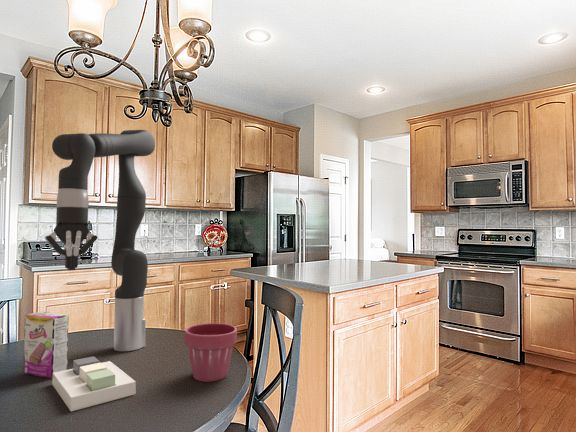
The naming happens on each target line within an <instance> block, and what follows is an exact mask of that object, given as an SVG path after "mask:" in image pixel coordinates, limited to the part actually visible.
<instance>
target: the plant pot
mask: <svg viewBox="0 0 576 432" xmlns="http://www.w3.org/2000/svg"><path fill="white" fill-rule="evenodd" d="M237 335H238V330H237V327H236V326H234V325H233V324H229V323H223V322H222V323H221V322H219V323H218V322H216V323H215V322H212V323H211V322H210V323H200V324H193V325H191V326H190V325H189V326H188V327H186V328H185V330H184V338H183V339H184V341H183V342H184V345H185V346H186V347H187V351H188V356H189V361H190V366H191V371H192V377H193V378H194V380H196V381H199V382H205V383H206V382H216V381H219V380H220V381H221V380H223V379H224V378H226V377H227V375H228V370H229V367H230V361H231V357H232V352H233V347H234V345H235V344H236V343H237V340H238V338H237V337H238V336H237Z"/></svg>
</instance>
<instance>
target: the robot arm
mask: <svg viewBox="0 0 576 432" xmlns="http://www.w3.org/2000/svg"><path fill="white" fill-rule="evenodd" d="M155 148H156V140H155V137H154V135H153V134H152V132H150V131H148V130H146V129H128V130H126V129H125V130H122V131H121V132H120V133H89V134H87V133H83V132H80V133H79V132H78V133H77V132H76V133H67V134H66V133H63V134H60V135H57V136H56V137H54V139H53V140H52V143H51V149H52V152H53V153H54V155H56V156H57V157H58V158H60V159H61V160H63V161H66V160H67V161H71V163H70V164H69V165H68V166H66V167H63V168H61V169H60V170H59V171H58V184H57V185H58V187H57V188H58V189H57V194H56V195H57V196H56V215H55V216H56V217H55V218H56V221H55V223H56V224H55V227H54V228H53V232H52V233H50V234H48V235H45V237H44V240H45V241H46V242H47V243H48V244H49V245H50V246H51V247H52V249H53V250H54V251H55V252H56V254H58V255H61V256H64V268H65V269H67V271H75V270H76V269H77V268H78V266H79V265H78V264H79V263H78V262H79V256H80V255H83V254H85V253H86V252H87V251H88V250H89V249H90V248H91V246H92V245H93V244H94V243H95V242H96V241H97V239H99V238H98V235H96V234H95V235H94V234H93V233H91V232H90V228H89V204H90V203H89V195H88V189H89V187H88V186H89V185H88V184H89V183H88V182H89V181H88V180H89V179H88V178H89V174H90V171H91V168H92V164H93V161H94V158H104V157H114V156H118V157H117V158H118V189H117V197H116V199H117V201H116V222H115V234H114V236H115V237H114V242H113V248H112V253H111V260H110V263H111V269H112V271H113V273H115V275H117V276H121V283H120V286H119V287H116V288H115V290H114V312H113V314H114V315H113V316H114V319H113V320H114V321H113V322H114V323H113V325H114V326H113V350H114V351H116V352H131V351H136V350H139V349H142V348H145V347H146V328H147V327H146V323H147V320H146V318H145V317H144V314H145V313H144V306H145V305H144V302H145V298H144V297H145V290H146V288H147V283H148V268H149V265H148V263H149V261H148V258H147V255H146V254H145V253H144V252H143V251H141V250H140V249H139V250H138V249H135V245H136V243H135V242H136V235H137V232H138V230H139V227H140V225H141V223H142V221H143V219H144V216H145V212H146V204H147V203H146V201H147V195H146V190H145V188H144V186H143V184H142V182H141V181H140V179H139V178H138V175H137V172H136V170H135V157H147V156H150V155H152V154H153V153H154V151H155ZM57 238H58V239H59V240H60V242H61V243H63V248H64V249H63V248H62V246H60V244H58V242H57ZM85 239H86V241H85V242H84V244H83V245H82V246H81V243H82V242H83V241H84V240H85Z"/></svg>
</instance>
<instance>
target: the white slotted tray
mask: <svg viewBox="0 0 576 432" xmlns="http://www.w3.org/2000/svg"><path fill="white" fill-rule="evenodd" d="M101 363H102V364H103V365H105V366H106V367H107V369H109V370H111V371H112V372H113V373H114V374H115V386H111V387H107V388H103V389H99V390H95V391H90V390H89V388H88V387H87V386H86V383H83V382H82V381H81V380H80V378H79V375H76V374H75V373H74V372H73V368H70V369H67V370H64V371H59V372H54V373H53V379H52V384H51V385H52V387H53V388H54V390H55V391H56V392H57V394H58V395H59V396H60V398H61V399H62V400H63V402H64V404H65V406H66V407H67V408H68V409H69V411H70V412H75V411H77V410H82V409H86V408H89V407H93V406H96V405H100V404H104V403H108V402H112V401H115V400H118V399H119V400H120V399H122V398H123V399H124V398H126V397H131V396H133V395H136V393H137V382H136V380H134V379H133V378H132V377H131V376H129V374H127V373H126V372H124V371H123V370H122V369H120V368H119V367H118V366H117V365H116V364H114V363H113V362H112V361H110V360H108V361H103V362H101Z"/></svg>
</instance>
